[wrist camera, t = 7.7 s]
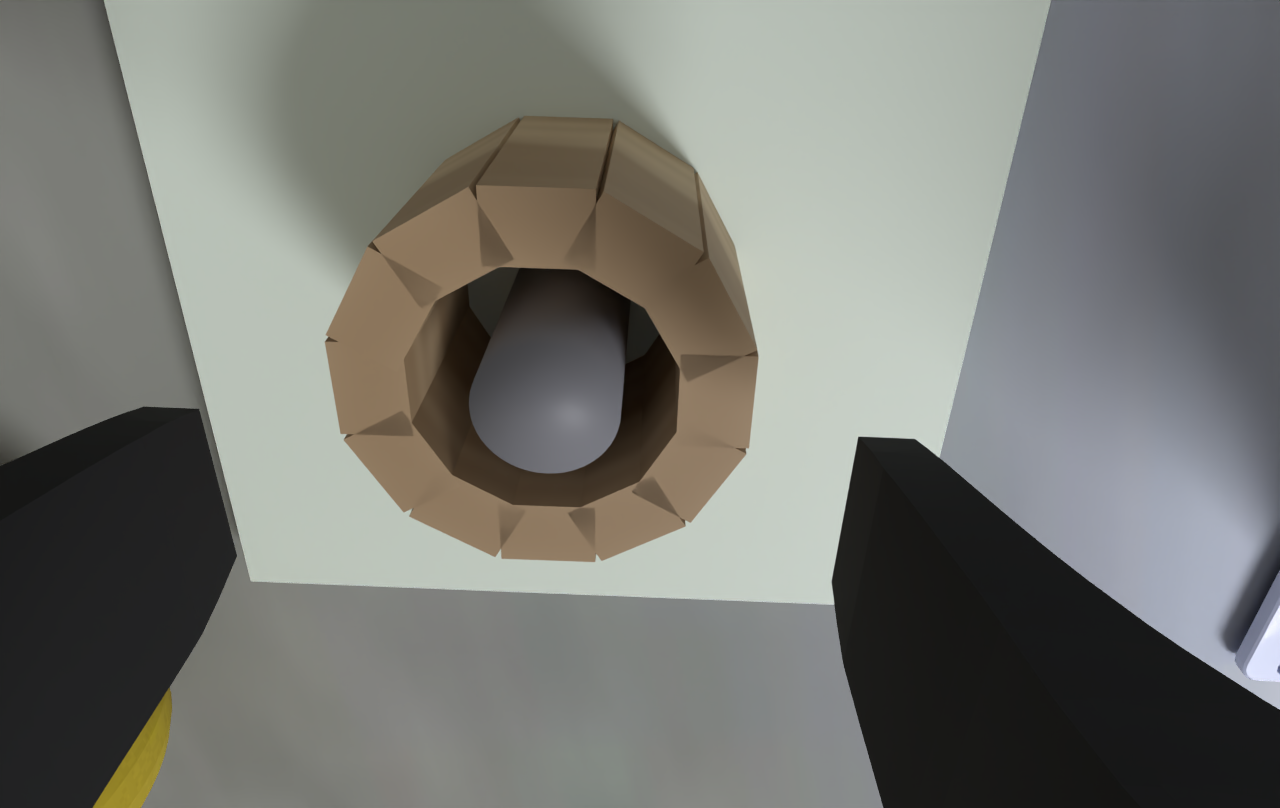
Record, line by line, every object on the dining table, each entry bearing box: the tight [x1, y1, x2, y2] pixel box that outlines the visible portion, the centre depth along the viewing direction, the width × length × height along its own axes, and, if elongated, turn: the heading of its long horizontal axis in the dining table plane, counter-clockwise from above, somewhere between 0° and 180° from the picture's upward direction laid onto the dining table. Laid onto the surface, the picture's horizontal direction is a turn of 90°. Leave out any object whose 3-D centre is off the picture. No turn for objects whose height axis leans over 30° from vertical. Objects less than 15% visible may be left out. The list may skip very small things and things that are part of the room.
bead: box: [325, 116, 759, 562], centre depth 13 cm, size 6×6×4 cm
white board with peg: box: [104, 0, 1051, 605], centre depth 13 cm, size 14×14×5 cm
